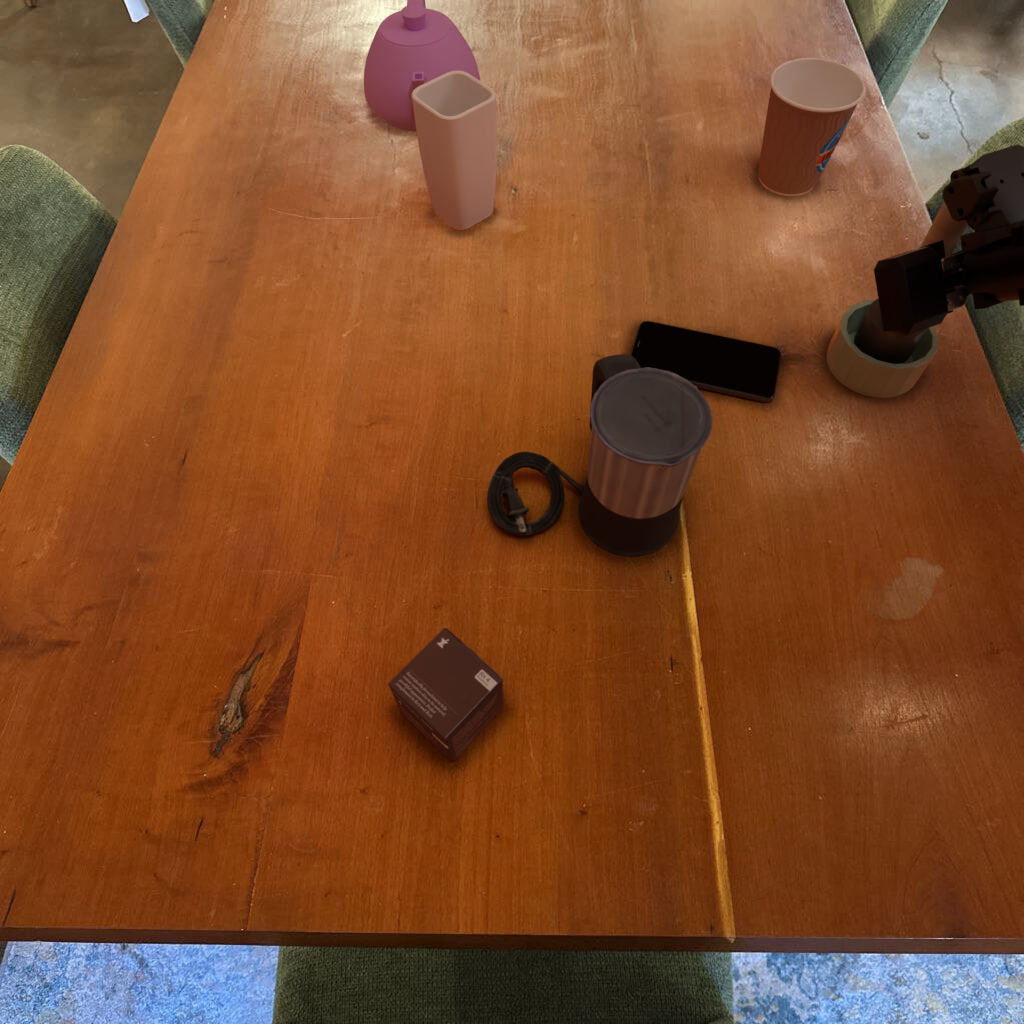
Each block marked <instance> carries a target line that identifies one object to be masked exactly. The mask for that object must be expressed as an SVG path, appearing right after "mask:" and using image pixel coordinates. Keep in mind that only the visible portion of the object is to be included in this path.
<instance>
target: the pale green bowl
mask: <svg viewBox="0 0 1024 1024" xmlns="http://www.w3.org/2000/svg"><path fill="white" fill-rule="evenodd" d="M875 300H876V299H866V300H863V301H861V302H858V303H855V304H853V305H851V306H850V307H849V308H848V309H847V310H846V311H845V312H844V313H843V315H842V316H841V318H840V320H839V323H838V324H837V327H836V329H835V331H834V333H833V335H832V338H831V339H830V342H829V344H828V347H827V349H826V364H827V367H828V368H829V371H830V372H831V374H832V375H833V377H834V378H835V379H836V380H837V381H838V382H839V383H840V384H841V385H843V386H844V387H846V388H848V389H849V390H851V391H853V392H854V393H857V394H860V395H863V396H867V397H872V398H880V399H881V398H885V399H886V398H894V397H898V396H901V395H904V394H906V393H907V392H908V391H910V390H911V389H912V388H913V387H914V386H915V385H916V383H917V382H918V380H919V379H920V378H921V377H922V375H923V373H924V372H925V370H926V369H927V368H928V366H929V364H930V363H931V361H932V360H933V358H934V357H935V355H936V354H937V352H938V350H939V339H940V338H939V334H938V332H937V330H936V328H935V326H932V327H930V328H928V329H927V330H926V332H925V334H924V335H923V337H922V338H921V340H920V342H919V343H918V345H917V347H916V348H915V350H914V351H913V353H912V355H911V356H910V358H909V359H908V360H907V361H906V362H904V363H903V364H892V363H888V362H883V361H878V360H876V359H874V358H872V357H870V356H868V355H867V354H865V353H863V352H861V351H860V350H859V349H858V348H857V347H856V346H855V345H854V337H855V334H856V332H857V330H858V328H859V326H860V324H861V323H862V321H863V319H864V317H865V315H866V313H867V311H868V309H869V307H870V305H871V304H872V302H874V301H875Z"/></svg>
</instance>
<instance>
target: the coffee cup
mask: <svg viewBox="0 0 1024 1024" xmlns="http://www.w3.org/2000/svg"><path fill="white" fill-rule="evenodd" d="M769 84H770V91H769V97H768V103H767V109H766V118H765V121H764V122H765V124H764V129H763V136H762V142H761V148H760V154H759V159H758V160H759V161H758V174H757V175H758V180H759V183H760V184H761V185H762V186H763V187H764V188H765V189H766V190H767V191H769V192H771V193H773V194H776V195H780V196H783V197H798V196H802V195H805V194H808V193H809V192H811V191H812V189H814V187H815V185H816V184H817V182H818V181H819V180H820V178H821V176H822V174H823V172H824V171H825V170H826V166H827V165H828V163H829V161H830V159H831V157H832V155H833V153H834V151H835V149H836V147H837V146H838V144H839V142H840V139H841V138H842V136H843V134H844V131H845V130H846V128H847V126H848V124H849V123H850V121H851V118H852V117H853V114H854V112H855V110H856V108H857V106H858V104H859V103H860V102H861V101H863V99H864V97H865V95H866V91H867V90H866V83H865V81H864V79H863V77H862V76H861V75H860V74H859V73H858V72H856V70H854V69H852V68H851V67H849V66H848V65H846V64H843V63H841V62H838V61H835V60H831V59H827V58H821V57H820V58H819V57H800V58H795V59H790V60H787V61H784V62H783V63H781V64H779V65H778V66H777V67H775V69H774V70H773V71H772V73H771V74H770V78H769Z"/></svg>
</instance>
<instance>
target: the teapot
mask: <svg viewBox="0 0 1024 1024" xmlns="http://www.w3.org/2000/svg"><path fill="white" fill-rule="evenodd" d="M371 41H372V42H371V43H370V46H369V49H368V51H367V54H366V58H365V64H364V68H363V69H364V70H363V71H364V72H363V91H364V99H365V101H366V103H367V105H368V106H369V107H370V110H371V111H372V112H373V113H374V114H375V115H376V116H377V117H379V118H380V119H381V120H382V121H383V122H385V123H386V124H388V125H389V126H391V127H393V128H395V129H398V130H401V131H405V132H409V133H410V132H411V133H417V131H416V124H415V116H414V109H413V101H412V92H413V91H414V89H416V88H417V87H419V86H421V85H423V84H425V83H427V82H429V81H431V80H433V79H435V78H437V77H439V76H441V75H443V74H445V73H448V72H451V71H464V72H466V73H469V74H470V75H472V76H473V77H475V78H476V79H478V80H479V81H481V76H480V71H479V67H478V64H477V60H476V58H475V55H474V52H473V51H472V49H471V47H470V44H469V43H468V42H467V40H466V39H465V37H464V36H463V34H462V33H461V31H460V29H459V28H458V27H457V25H456V24H455V23H454V22H453V21H452V19H451V18H450V17H449V16H447V15H446V14H444V13H443V12H441V11H438V10H435V9H432V8H427V5H426V0H406V6H403V8H402V9H401V10H399V11H396V12H394V13H391V14H390V15H388V16H387V17H385V18H384V19H383V20H382V21H381V23H380V24H379V26H378V27H377V29H376V31H375V34H374V37H373V38H372V40H371Z"/></svg>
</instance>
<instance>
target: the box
mask: <svg viewBox="0 0 1024 1024" xmlns="http://www.w3.org/2000/svg"><path fill="white" fill-rule="evenodd" d="M503 682H504V678H503V677H502V676H501V675H500V674H499V673H498V672H497V671H496V670H494V668H493V667H491V666H490V665H489V664H488V663H487V662H485V660H483V659H482V658H481V657H480V656H479V655H478V654H477V652H475V651H474V650H473V649H472V648H471V647H469V646H467V645H466V644H465V643H464V642H463V641H462V640H460V639H459V637H458V636H456V635H455V634H454V633H453V632H452V631H451V630H450V629H449V628H446V627H442V629H441V630H440V631H439V633H437V634H436V635H435V637H434V638H432V639H431V640H430V642H428V643H427V644H426V646H424V647H423V648H422V649H421V650H420V651H419V652H418V653H417V654H416V655H415V656H414V657H413V658H412V659H411V660H410V661H409V662H408V663H407V664H406V665H405V666H404V667H403V668H402V669H401V670H399V671H398V673H397V674H395V676H394V677H392V679H390V681H388V683H387V686H388V687H389V689H390V691H391V693H392V695H393V697H394V700H395V702H396V704H397V707H398V709H399V711H400V713H401V714H402V716H404V718H405V719H407V721H408V722H409V723H411V725H412V726H414V728H415V730H417V731H418V732H419V733H420V734H421V735H422V736H423V737H424V738H425V739H426V740H427V741H428V742H429V743H430V744H431V745H432V746H433V747H435V748H436V749H437V750H438V752H440V753H441V754H442V755H443V756H444V757H445V758H446V759H447V760H448V761H449V762H450V763H454V762H455V761H456V760H457V759H458V758H459V757H460V756H461V755H462V754H463V753H464V752H465V751H466V749H467V748H468V747H469V746H470V745H471V744H472V743H473V742H474V740H475V739H476V738H477V737H478V736H479V735H480V734H481V733H482V732H483V731H484V730H485V728H487V726H488V725H489V724H491V722H492V721H493V719H495V717H496V716H497V715H498V714H499V713H500V712H501V711H502V710H503V708H504V684H503Z"/></svg>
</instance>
